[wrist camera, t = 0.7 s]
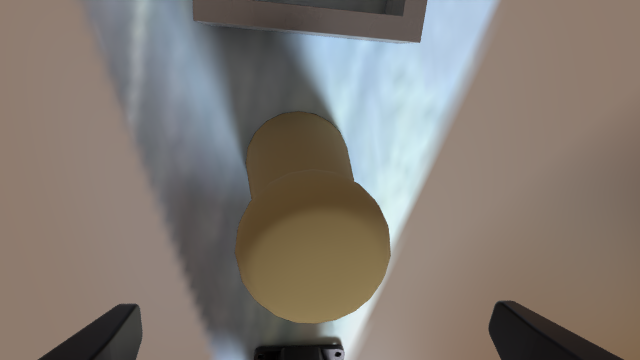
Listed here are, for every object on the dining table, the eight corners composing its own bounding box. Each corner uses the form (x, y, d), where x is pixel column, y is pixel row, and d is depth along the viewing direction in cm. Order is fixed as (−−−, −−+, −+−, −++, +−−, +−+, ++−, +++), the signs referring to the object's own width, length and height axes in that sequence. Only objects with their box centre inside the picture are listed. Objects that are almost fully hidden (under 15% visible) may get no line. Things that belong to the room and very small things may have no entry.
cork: (363, 130, 20) (452, 214, 10) (328, 219, 22) (372, 367, 12) (262, 96, 19) (246, 152, 9) (233, 194, 21) (192, 336, 11)
